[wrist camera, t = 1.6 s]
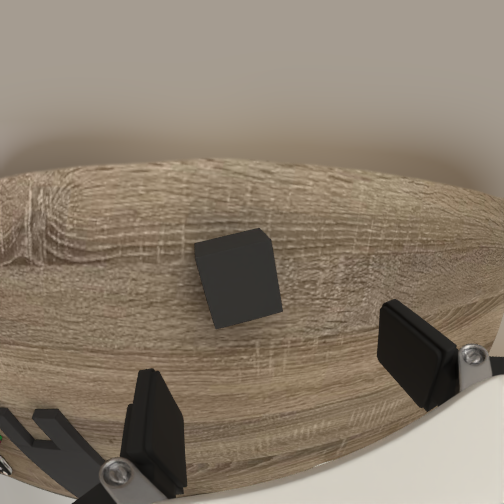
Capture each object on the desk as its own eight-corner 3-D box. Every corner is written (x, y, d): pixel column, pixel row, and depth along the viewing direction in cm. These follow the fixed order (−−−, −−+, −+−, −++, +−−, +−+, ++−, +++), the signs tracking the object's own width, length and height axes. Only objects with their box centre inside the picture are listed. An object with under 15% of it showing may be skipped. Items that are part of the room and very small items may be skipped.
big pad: (-9, 406, 19) (-13, 414, 18) (58, 408, 21) (54, 418, 19) (79, 491, 27) (78, 498, 25) (145, 495, 28) (145, 502, 27)
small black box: (194, 243, 19) (194, 258, 16) (259, 227, 19) (271, 239, 17) (211, 307, 21) (215, 329, 18) (271, 292, 21) (283, 311, 18)
